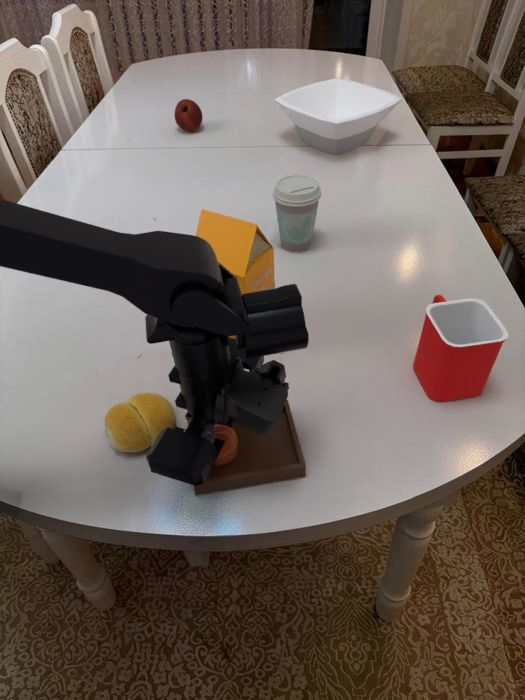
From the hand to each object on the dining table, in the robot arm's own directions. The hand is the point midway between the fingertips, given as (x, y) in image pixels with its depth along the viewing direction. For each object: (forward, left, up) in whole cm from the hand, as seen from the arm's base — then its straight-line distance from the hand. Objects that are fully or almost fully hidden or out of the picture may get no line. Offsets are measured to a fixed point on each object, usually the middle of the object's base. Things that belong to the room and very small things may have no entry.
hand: (218, 446), depth 61 cm
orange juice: (+6, +22, -2) cm, 23 cm away
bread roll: (-10, +6, -2) cm, 12 cm away
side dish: (0, 0, -1) cm, 1 cm away
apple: (+4, +105, -2) cm, 105 cm away
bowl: (+40, +88, -2) cm, 96 cm away
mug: (+33, +8, -2) cm, 34 cm away
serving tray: (+3, 0, -2) cm, 3 cm away
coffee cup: (+20, +44, -2) cm, 48 cm away
